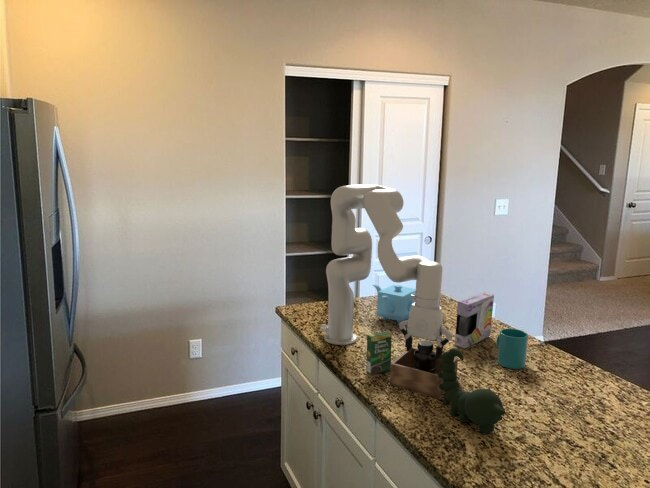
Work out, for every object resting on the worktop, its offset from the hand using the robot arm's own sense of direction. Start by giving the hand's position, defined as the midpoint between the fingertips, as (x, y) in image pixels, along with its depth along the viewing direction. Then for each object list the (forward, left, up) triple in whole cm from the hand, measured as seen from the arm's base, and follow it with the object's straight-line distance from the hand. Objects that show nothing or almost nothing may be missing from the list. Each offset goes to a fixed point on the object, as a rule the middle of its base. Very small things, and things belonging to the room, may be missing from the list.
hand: (423, 353), depth 159 cm
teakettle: (-31, +49, -9) cm, 59 cm away
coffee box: (-15, -2, -9) cm, 17 cm away
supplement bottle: (+1, 0, -9) cm, 9 cm away
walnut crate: (+1, 0, -9) cm, 9 cm away
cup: (+20, +30, -9) cm, 37 cm away
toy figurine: (+20, -15, -9) cm, 27 cm away
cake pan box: (+4, +42, -9) cm, 43 cm away
